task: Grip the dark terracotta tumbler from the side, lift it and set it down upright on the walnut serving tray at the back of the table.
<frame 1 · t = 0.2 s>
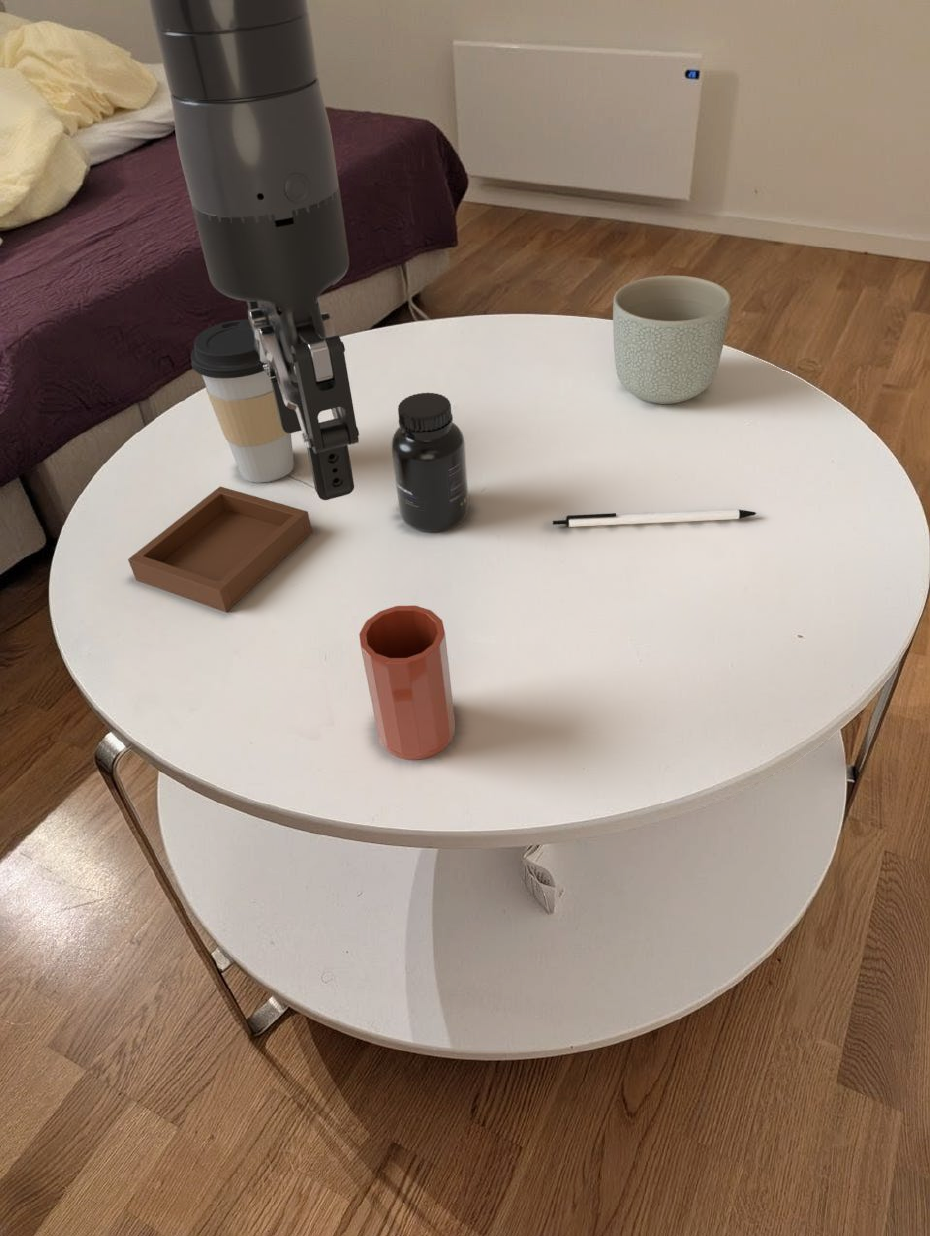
hand: (316, 459, 57), 22 cm above the table, tool pointing down, fingers open, 8 cm apart
pen: (653, 523, 87), on the table
coffee cup: (267, 470, 99), on the table
supplement bottle: (435, 515, 91), on the table
tumbler: (416, 730, 70), on the table
tray: (226, 555, 88), on the table
planter: (663, 391, 106), on the table
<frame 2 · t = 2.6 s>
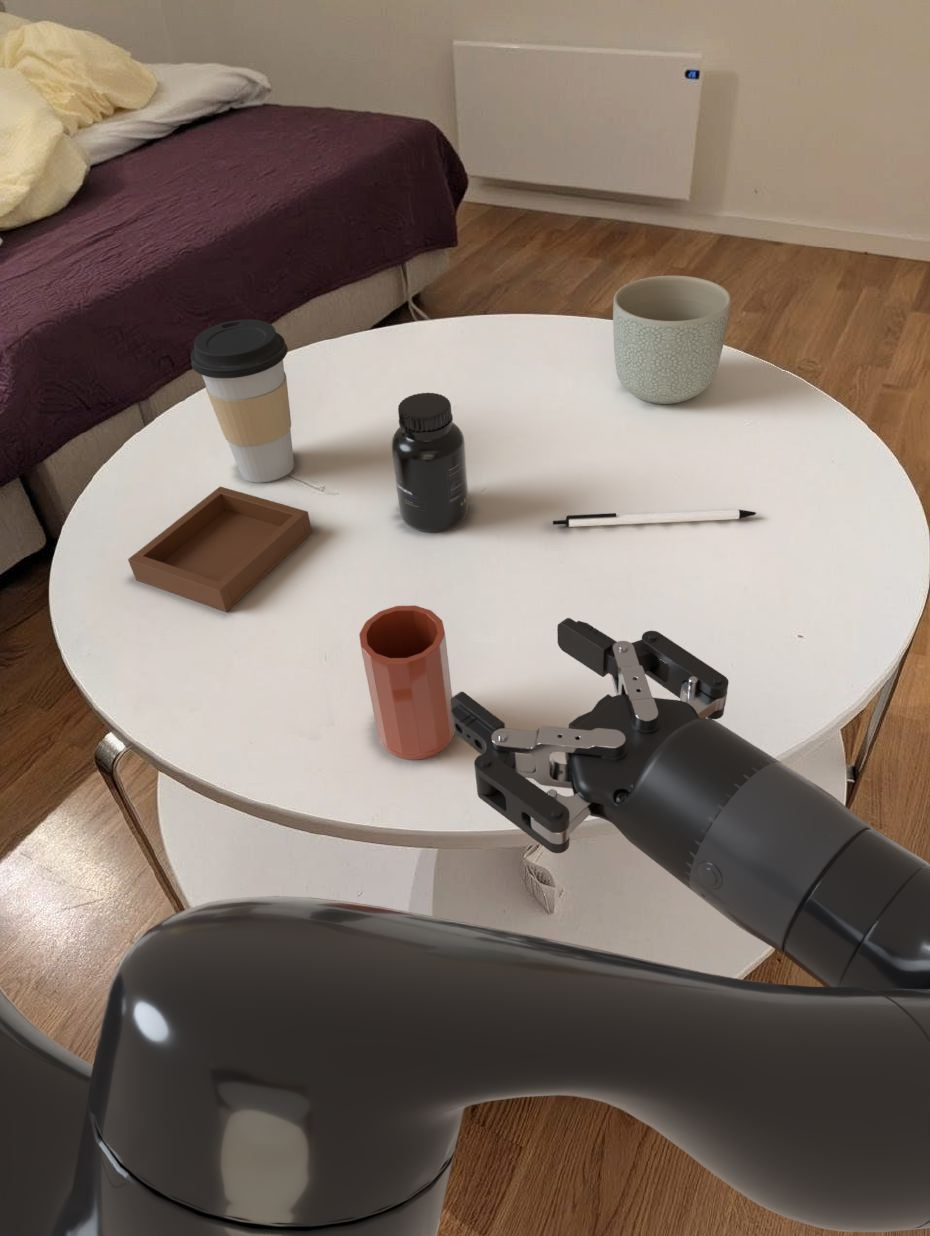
hand: (510, 666, 54), 14 cm above the table, tool horizontal, fingers open, 8 cm apart
nothing on the table moved.
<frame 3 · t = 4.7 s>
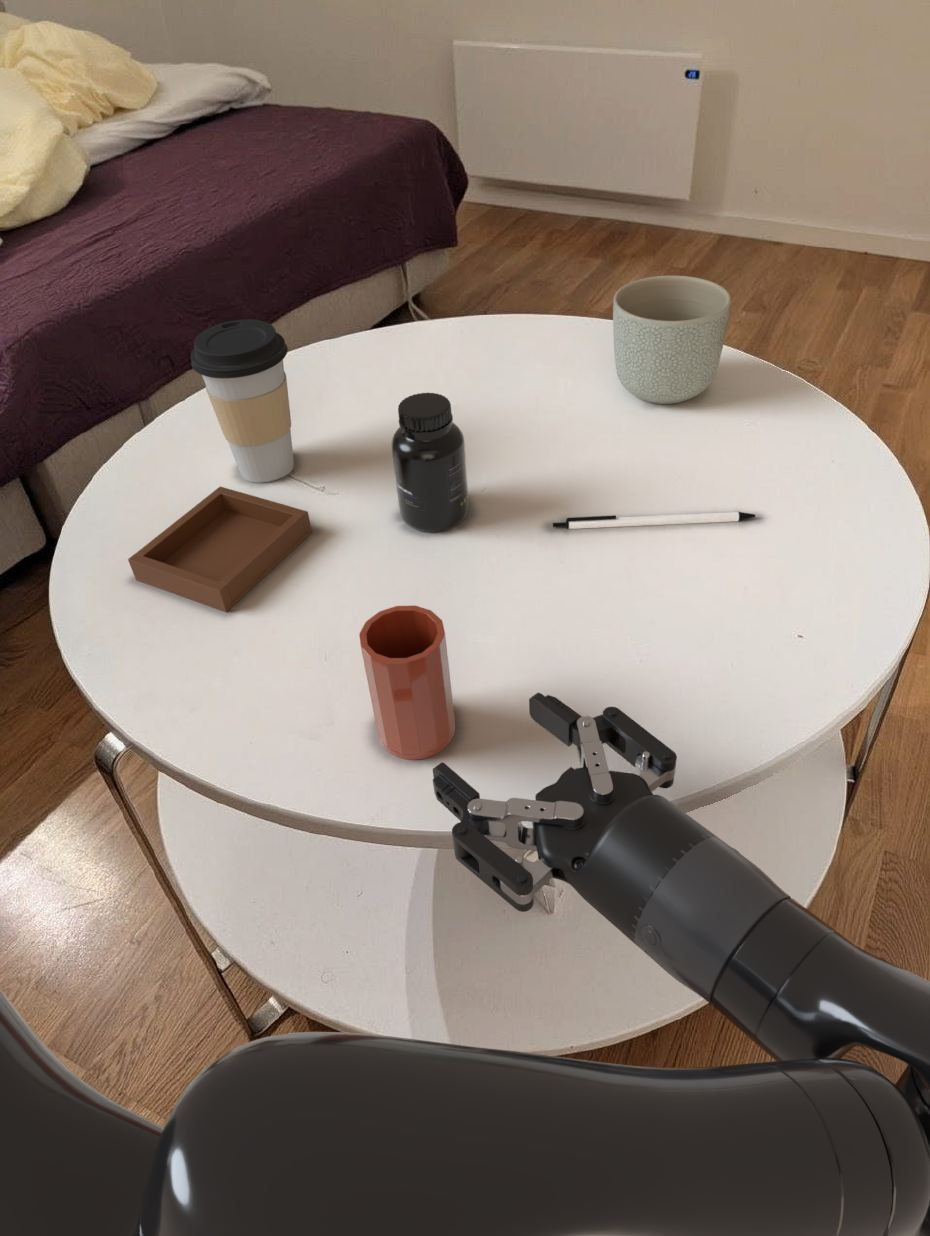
hand: (487, 737, 61), 6 cm above the table, tool horizontal, fingers open, 8 cm apart
nothing on the table moved.
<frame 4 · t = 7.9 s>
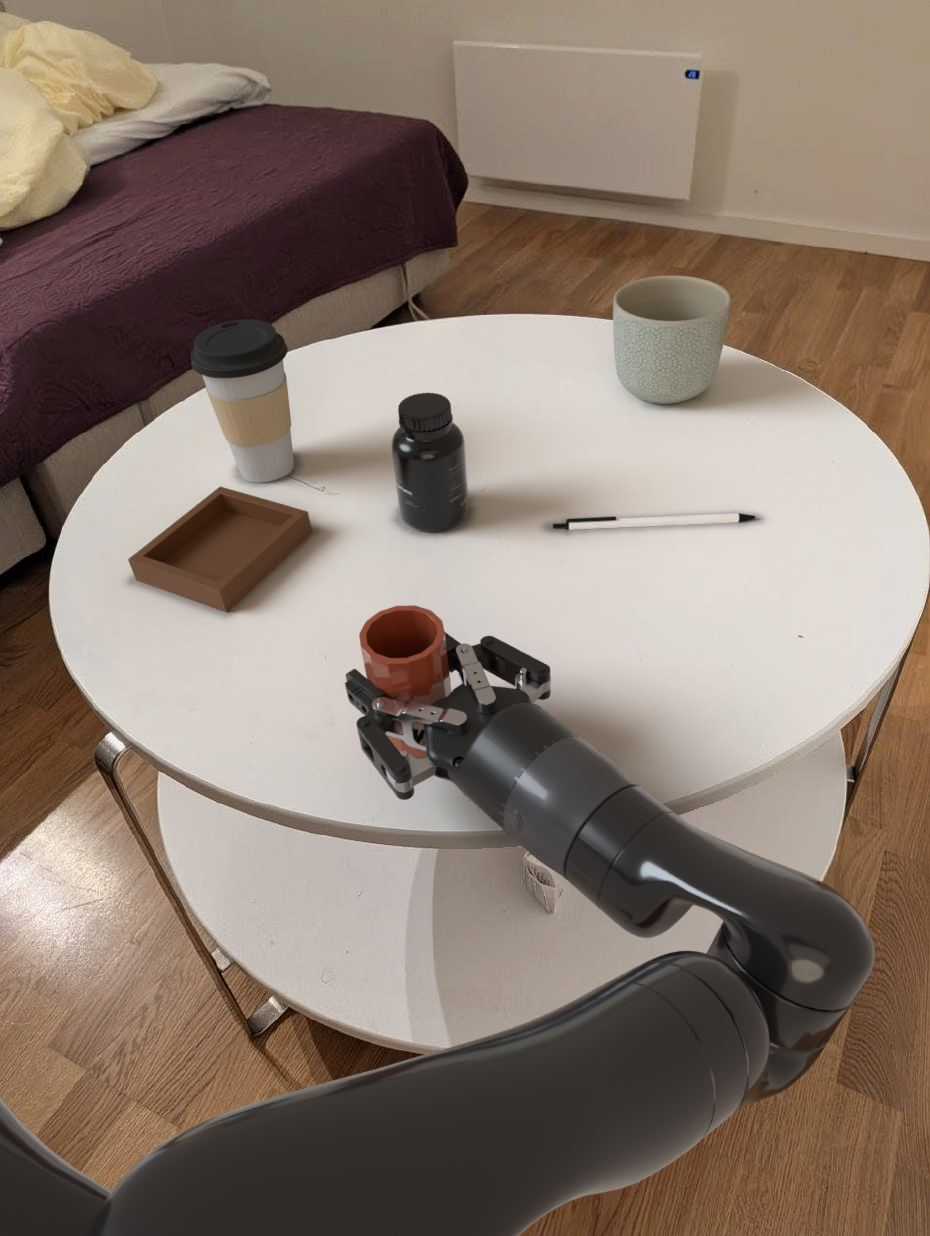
hand: (387, 657, 67), 6 cm above the table, tool horizontal, fingers closed on tumbler, 6 cm apart
tumbler: (416, 730, 70), on the table, touching gripper
everything else where it was.
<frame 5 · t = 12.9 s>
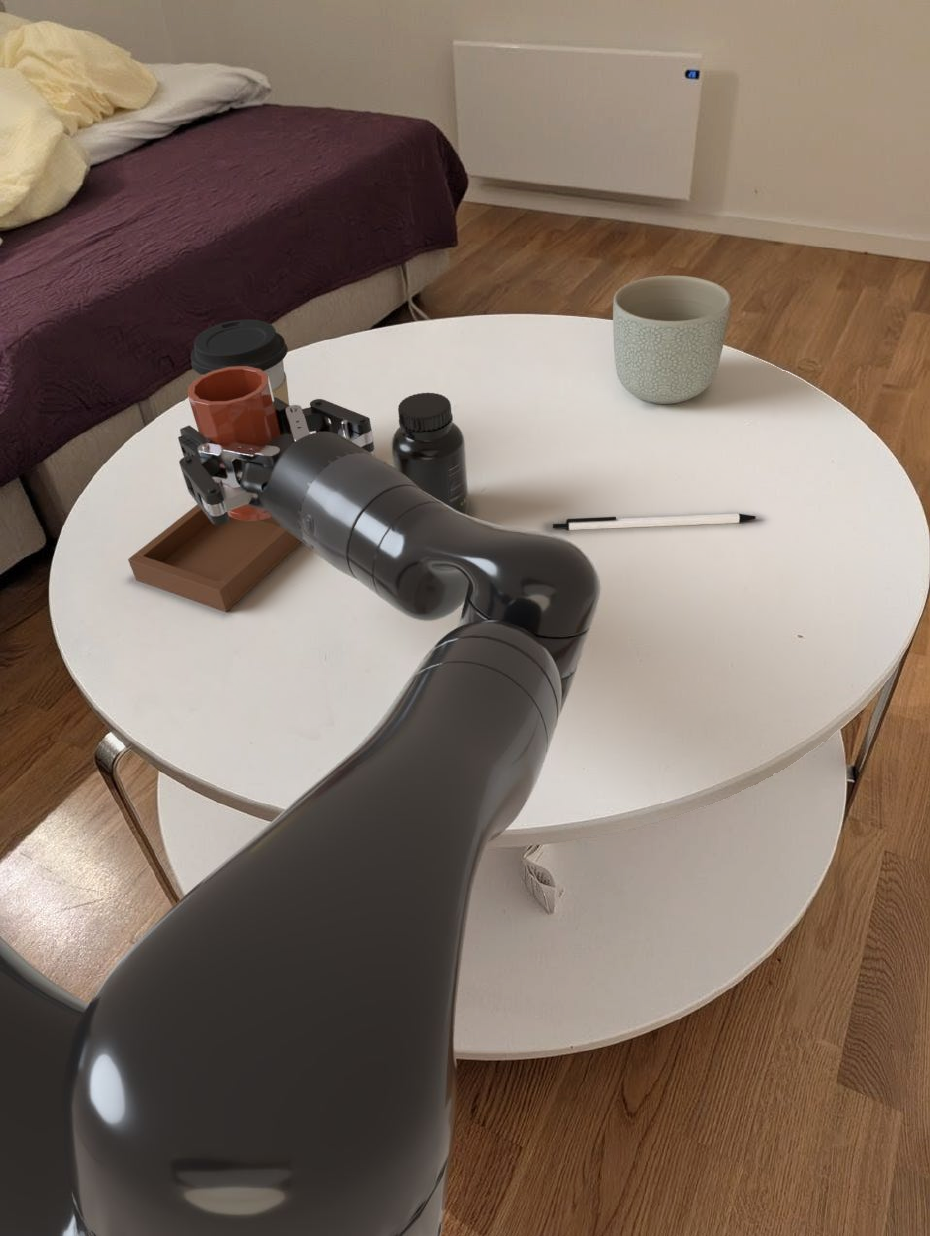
hand: (225, 422, 71), 18 cm above the table, tool horizontal, fingers closed on tumbler, 6 cm apart
tumbler: (258, 499, 73), point 12 cm above the table, touching gripper
everything else where it was.
when the fingers open (7 cm above the table, at t = 18.0 s): tumbler stays where it is, resting on tray.
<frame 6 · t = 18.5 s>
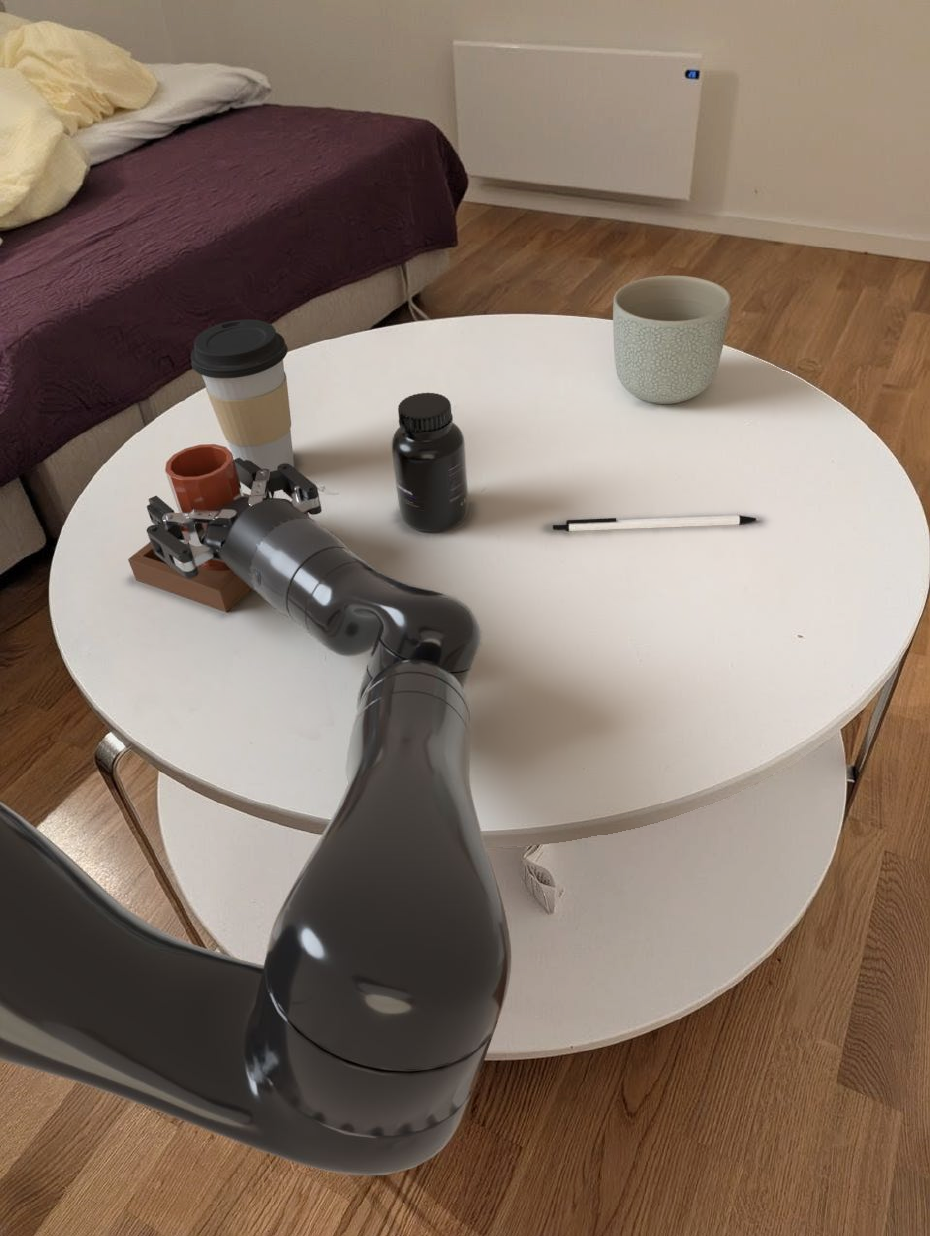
hand: (196, 486, 84), 7 cm above the table, tool horizontal, fingers open, 8 cm apart
tumbler: (226, 551, 87), resting on tray
everything else where it was.
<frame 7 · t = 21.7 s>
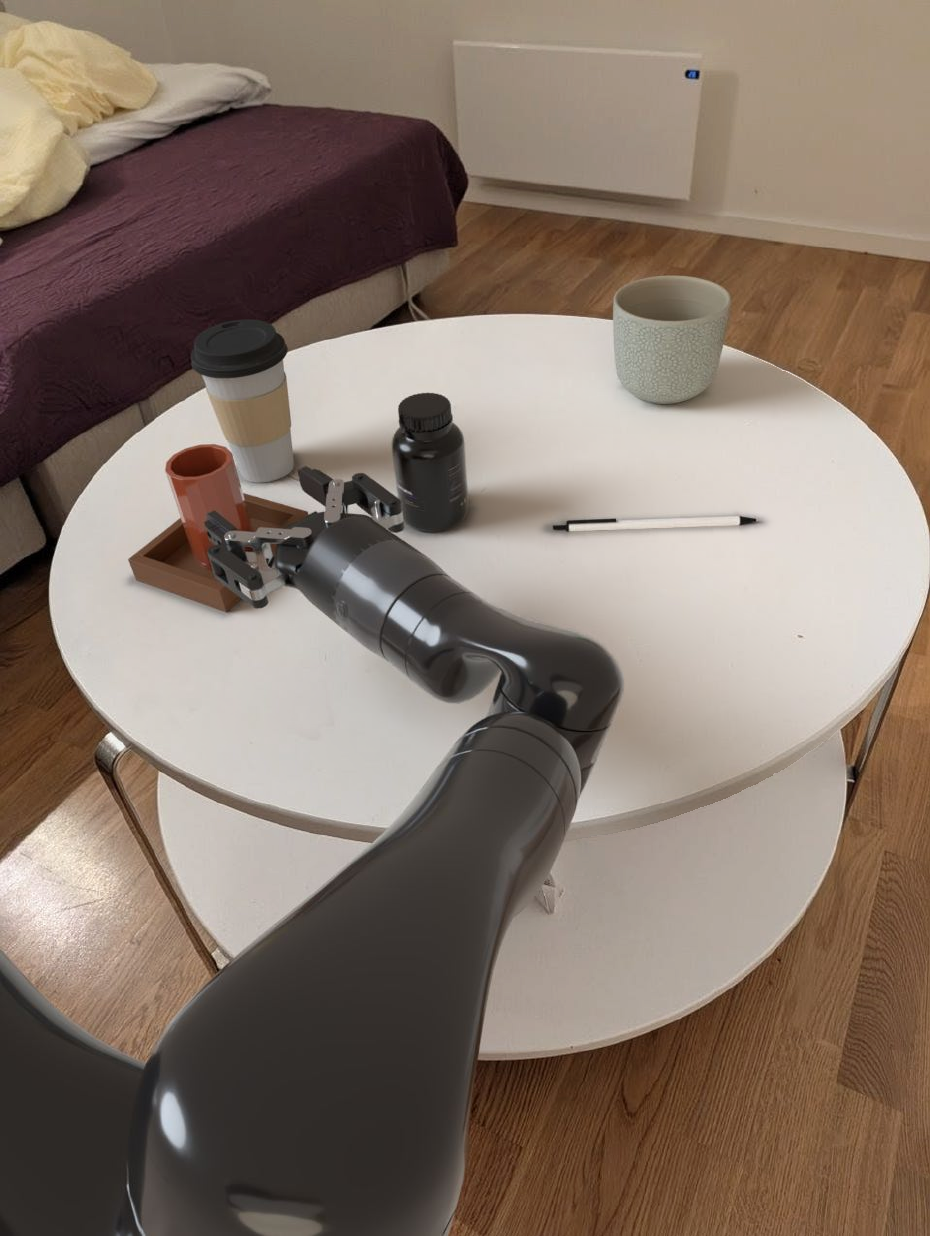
hand: (258, 498, 74), 12 cm above the table, tool horizontal, fingers open, 8 cm apart
nothing on the table moved.
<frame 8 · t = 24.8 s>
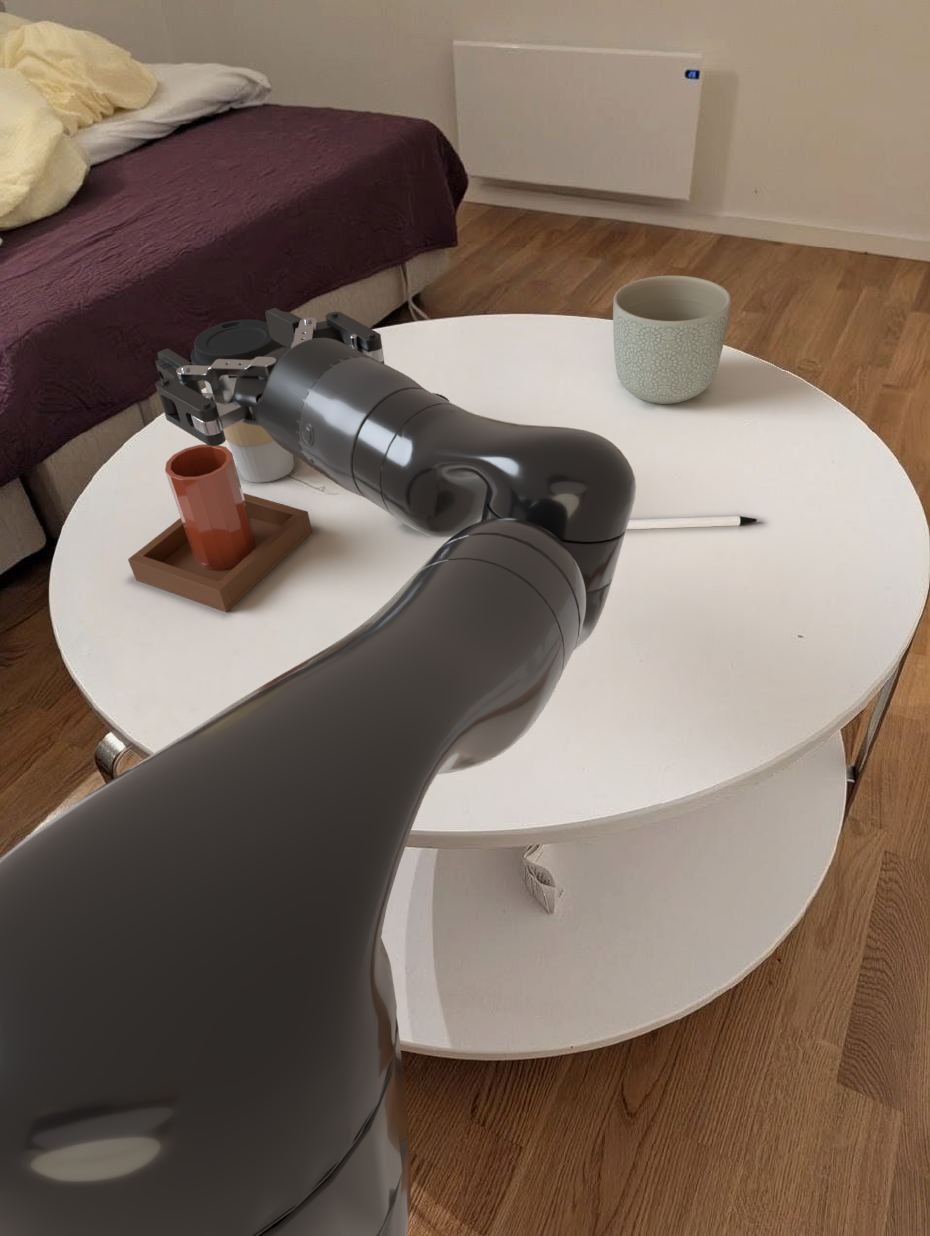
hand: (220, 342, 65), 25 cm above the table, tool horizontal, fingers open, 8 cm apart
nothing on the table moved.
at the end: tumbler inside the target area in the tray (0.1 cm from its centre), point 0.5 cm above the tray's base; tumbler tilted 0°; the gripper is holding nothing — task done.
